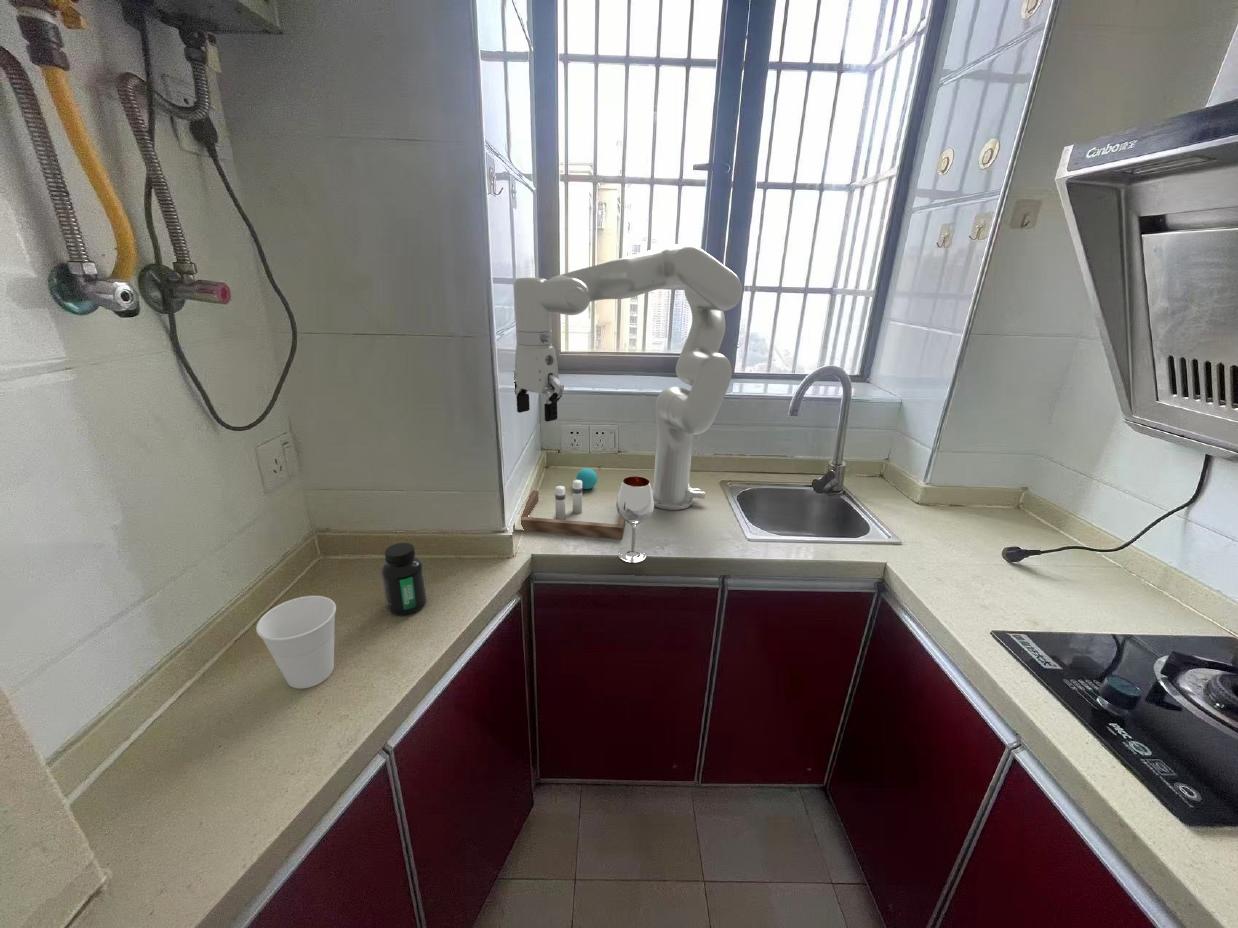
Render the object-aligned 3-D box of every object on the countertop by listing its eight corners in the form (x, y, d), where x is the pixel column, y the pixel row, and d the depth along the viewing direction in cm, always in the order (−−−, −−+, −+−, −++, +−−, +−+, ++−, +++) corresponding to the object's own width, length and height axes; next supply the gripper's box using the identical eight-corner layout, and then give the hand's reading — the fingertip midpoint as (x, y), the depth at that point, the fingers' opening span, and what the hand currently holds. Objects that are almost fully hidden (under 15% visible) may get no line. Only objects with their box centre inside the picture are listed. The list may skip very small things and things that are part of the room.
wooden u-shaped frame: (628, 507, 134) (628, 497, 132) (622, 539, 118) (622, 527, 117) (533, 500, 136) (532, 490, 135) (514, 530, 120) (514, 518, 119)
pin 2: (582, 509, 132) (583, 480, 128) (581, 513, 129) (581, 483, 126) (573, 508, 132) (573, 479, 129) (571, 513, 129) (571, 483, 126)
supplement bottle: (419, 617, 90) (411, 560, 85) (381, 616, 89) (371, 559, 85) (432, 594, 96) (425, 539, 92) (396, 593, 96) (387, 539, 91)
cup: (295, 652, 81) (280, 595, 77) (358, 650, 81) (347, 594, 77) (258, 701, 72) (239, 640, 67) (330, 699, 72) (315, 639, 68)
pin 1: (566, 516, 128) (566, 486, 125) (564, 521, 125) (564, 490, 122) (556, 515, 128) (556, 485, 125) (554, 520, 126) (554, 489, 122)
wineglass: (634, 542, 117) (638, 471, 110) (658, 557, 111) (663, 483, 105) (606, 553, 112) (609, 479, 105) (630, 569, 106) (634, 492, 100)
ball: (598, 484, 147) (598, 465, 145) (595, 493, 141) (595, 473, 139) (578, 483, 147) (578, 464, 145) (574, 491, 142) (574, 472, 140)
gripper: (574, 342, 105) (575, 420, 111) (522, 333, 115) (526, 405, 122) (547, 345, 99) (549, 427, 106) (495, 336, 110) (500, 411, 116)
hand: (536, 415), depth 114 cm, fingers open, 9 cm apart
